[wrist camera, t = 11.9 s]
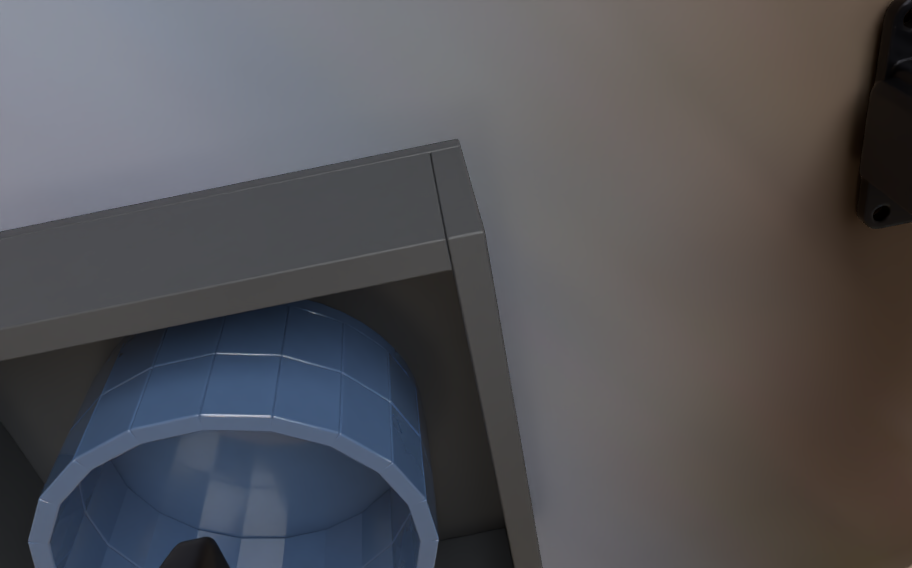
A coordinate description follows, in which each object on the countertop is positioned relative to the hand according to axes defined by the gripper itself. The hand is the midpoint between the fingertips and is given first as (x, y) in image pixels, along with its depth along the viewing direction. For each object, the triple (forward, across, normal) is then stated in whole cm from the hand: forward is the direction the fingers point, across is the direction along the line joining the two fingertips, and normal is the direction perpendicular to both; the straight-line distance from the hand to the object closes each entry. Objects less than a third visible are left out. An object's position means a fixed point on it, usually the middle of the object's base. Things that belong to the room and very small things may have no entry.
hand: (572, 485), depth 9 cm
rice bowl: (+12, +8, +8) cm, 16 cm away
